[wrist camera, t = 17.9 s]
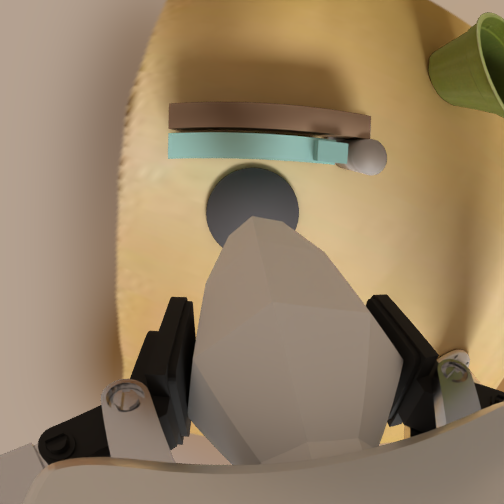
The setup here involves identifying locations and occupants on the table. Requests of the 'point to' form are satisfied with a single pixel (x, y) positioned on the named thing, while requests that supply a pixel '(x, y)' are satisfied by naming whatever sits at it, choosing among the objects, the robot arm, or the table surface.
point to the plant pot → (472, 67)
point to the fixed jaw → (286, 126)
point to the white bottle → (287, 354)
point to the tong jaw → (256, 147)
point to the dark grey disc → (249, 201)
